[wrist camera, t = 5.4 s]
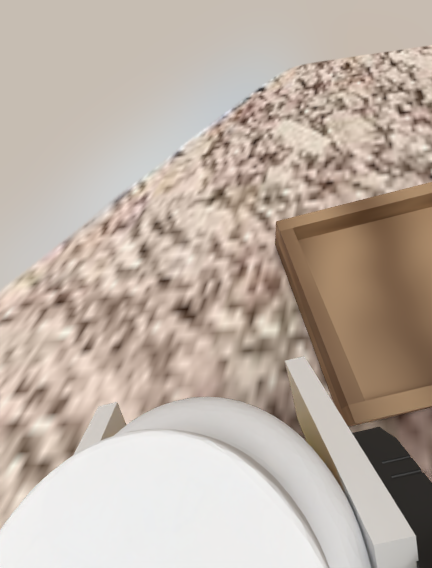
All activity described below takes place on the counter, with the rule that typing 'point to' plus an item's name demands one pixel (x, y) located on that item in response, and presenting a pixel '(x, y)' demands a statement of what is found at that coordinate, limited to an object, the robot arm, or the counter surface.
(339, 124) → the counter surface
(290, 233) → the walnut tray
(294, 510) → the supplement bottle
